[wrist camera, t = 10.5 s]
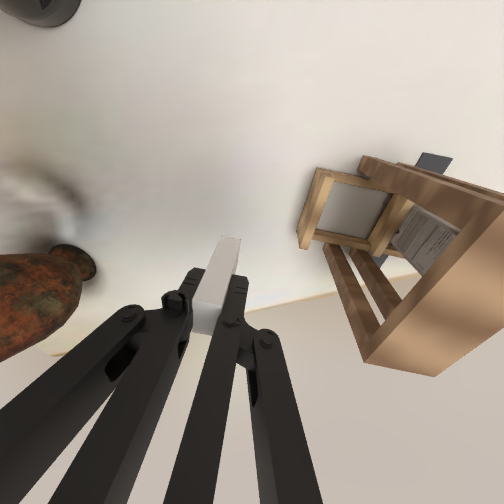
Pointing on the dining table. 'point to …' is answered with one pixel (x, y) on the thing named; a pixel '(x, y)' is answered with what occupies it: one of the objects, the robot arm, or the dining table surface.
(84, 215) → the dining table surface
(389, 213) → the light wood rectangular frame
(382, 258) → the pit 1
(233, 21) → the dining table surface
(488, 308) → the brown open upright frame
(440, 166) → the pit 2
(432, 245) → the coffee box
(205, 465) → the robot arm
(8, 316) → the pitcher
